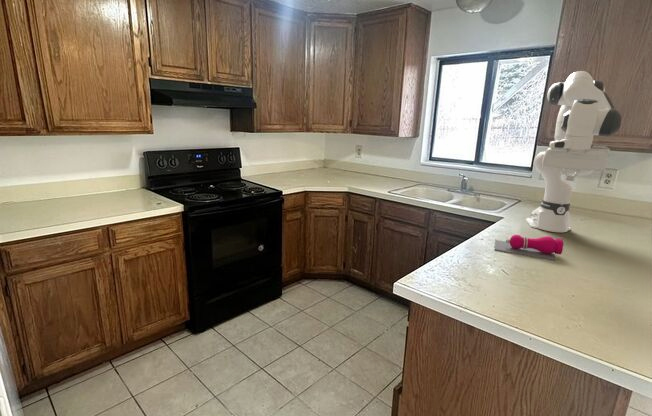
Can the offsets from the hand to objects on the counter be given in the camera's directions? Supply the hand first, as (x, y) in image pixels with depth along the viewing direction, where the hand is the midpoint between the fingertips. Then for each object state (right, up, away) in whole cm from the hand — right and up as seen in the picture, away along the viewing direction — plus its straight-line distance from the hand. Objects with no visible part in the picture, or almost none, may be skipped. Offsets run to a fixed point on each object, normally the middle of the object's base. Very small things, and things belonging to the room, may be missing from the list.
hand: (569, 180), depth 135 cm
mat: (-11, -29, +12) cm, 33 cm away
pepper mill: (+1, -26, +5) cm, 27 cm away
